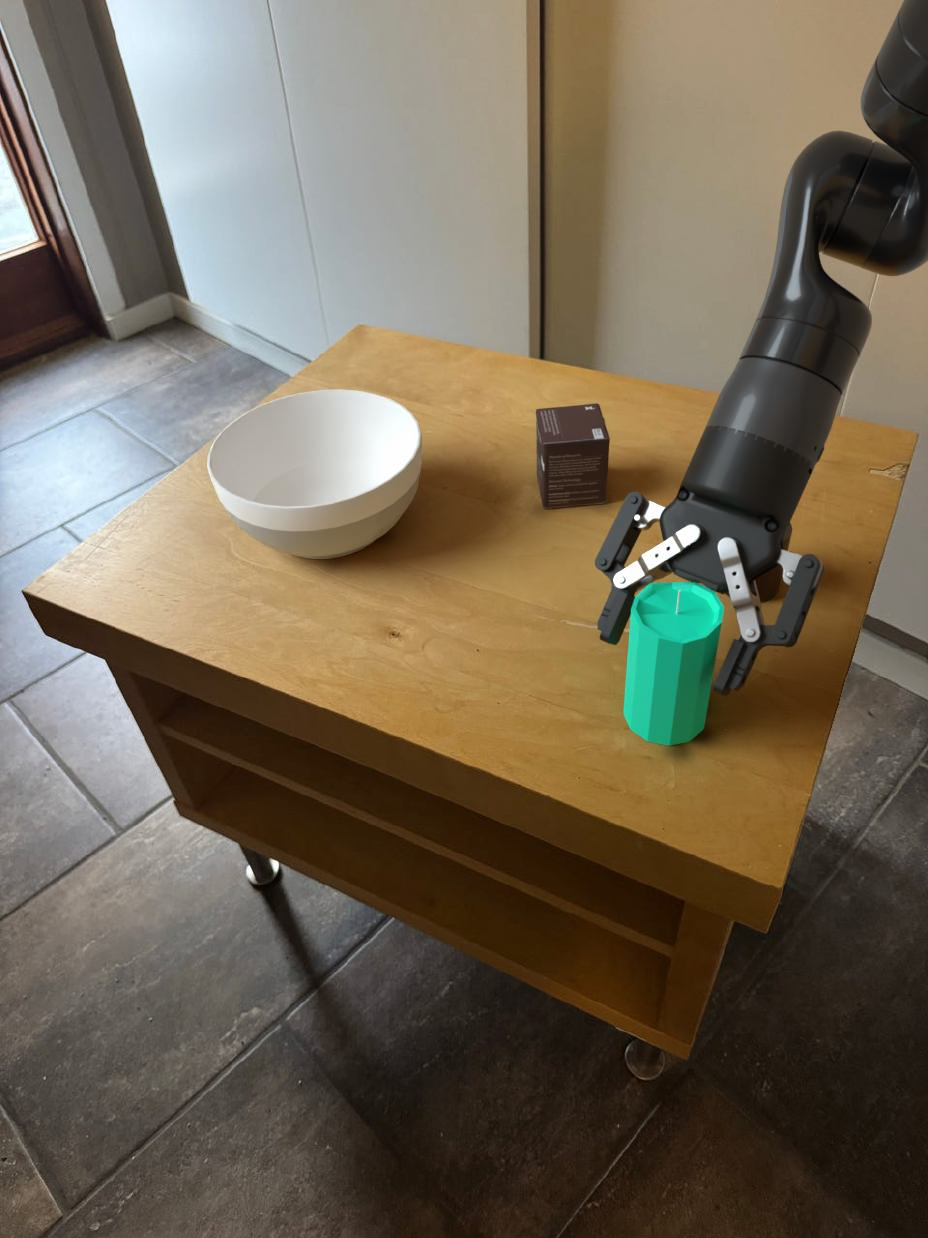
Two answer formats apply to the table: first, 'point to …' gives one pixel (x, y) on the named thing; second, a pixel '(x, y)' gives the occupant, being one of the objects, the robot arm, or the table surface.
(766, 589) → the walnut post
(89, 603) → the table surface
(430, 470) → the table surface
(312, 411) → the bowl
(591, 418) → the box
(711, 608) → the candle
